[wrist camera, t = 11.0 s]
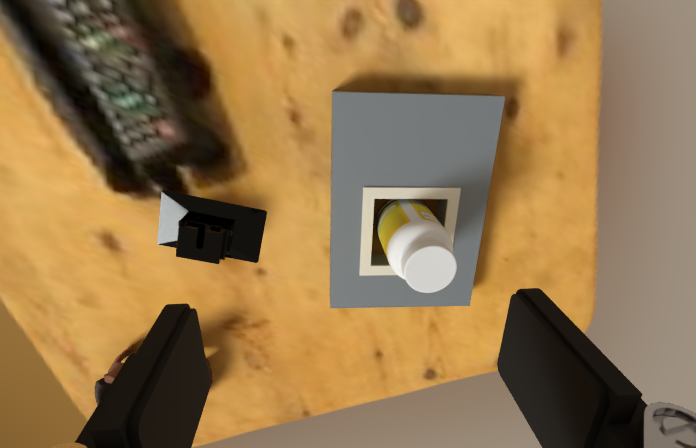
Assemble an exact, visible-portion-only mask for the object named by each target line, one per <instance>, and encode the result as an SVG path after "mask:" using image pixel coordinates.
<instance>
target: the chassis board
mask: <svg viewBox="0 0 696 448" xmlns="http://www.w3.org/2000/svg"><path fill="white" fill-rule="evenodd" d="M504 102H505V96H497V95H477V94H439V93H401V92H363V91H332V150H331V233H330V308H369V307H423V306H470V300H471V295H472V289H473V283H474V277H475V271H476V265H477V260H478V254H479V248H480V242H481V236H482V230H483V224H484V219H485V213H486V207H487V201H488V195H489V189H490V184H491V178H492V172H493V166H494V160H495V154H496V148H497V143H498V137H499V131H500V125H501V119H502V113H503V108H504ZM374 199H439V200H438V209H437V217H436V218H437V220H438V221H439V222H440V223H441V225H442V226H443V227H444V228H445V229H446V231H447V232H448V234H449V235H450V237H451V239H452V243H453V255H454V257H455V259H456V263H457V270H456V274H455V276H454V278H453V280H452V281H451V282H450V283H449V284H448V285H447V286H446V287H445V288H443V289H441V290H439V291H436V292H432V293H423V292H419V291H416V290H414V289H413V288H412V287H410V286H409V285H408V283H407V282H406V280H405V279H403V278H401V277H399V276H398V275H397V274H396V273H395V272H394V271H393V269H392V268H391V266H390V264H389V262H388V259H387V257H386V254H371V251H372V233H373V215H374Z"/></svg>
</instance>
